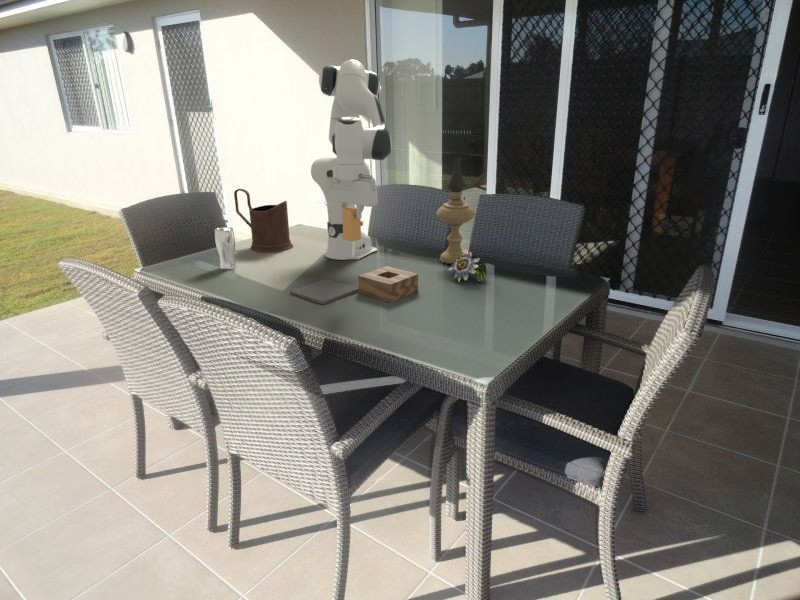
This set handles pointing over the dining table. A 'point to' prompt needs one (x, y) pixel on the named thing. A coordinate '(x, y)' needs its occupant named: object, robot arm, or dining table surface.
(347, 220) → the pin
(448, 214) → the oil lamp
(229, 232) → the beer glass
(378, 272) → the socket block
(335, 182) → the robot arm
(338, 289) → the mat
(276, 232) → the rusty metal jug
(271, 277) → the dining table surface
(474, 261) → the passion flower
